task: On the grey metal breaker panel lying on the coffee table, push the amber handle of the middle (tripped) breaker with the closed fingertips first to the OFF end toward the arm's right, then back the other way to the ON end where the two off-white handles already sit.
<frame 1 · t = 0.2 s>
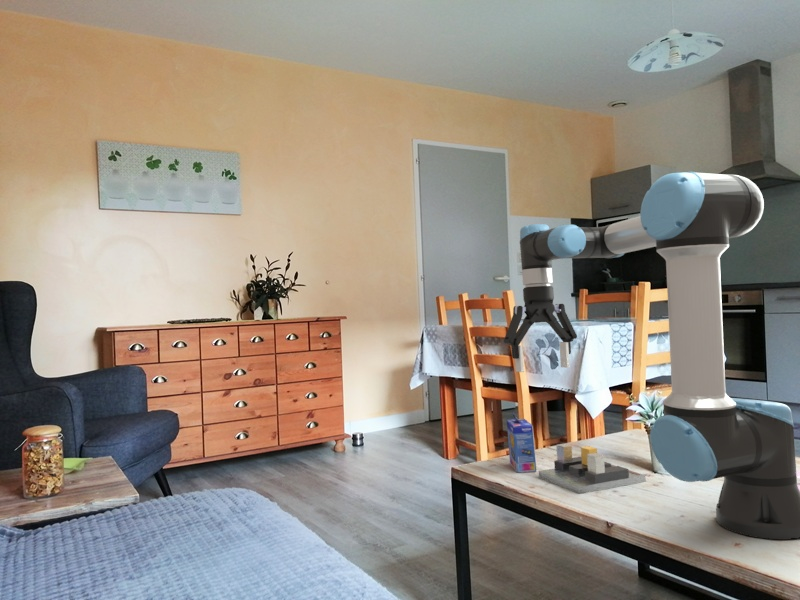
hand: (542, 369, 151), 27 cm above the table, fingers open, 13 cm apart
breaker panel: (590, 479, 145), on the table
tripped breaker handle: (589, 456, 145), point 6 cm above the table, slide at 0.0 cm
ink cartridge box: (522, 468, 159), on the table
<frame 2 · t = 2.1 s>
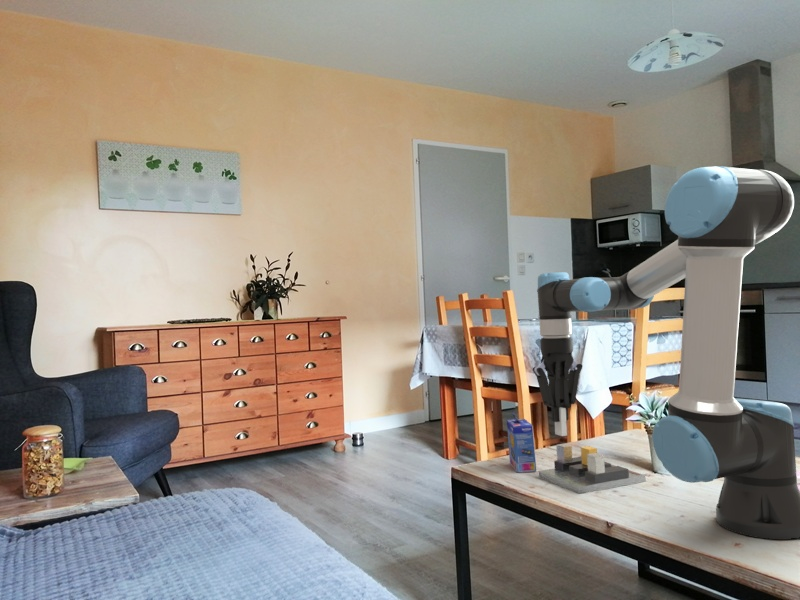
hand: (561, 434, 143), 12 cm above the table, fingers closed
nothing on the table moved.
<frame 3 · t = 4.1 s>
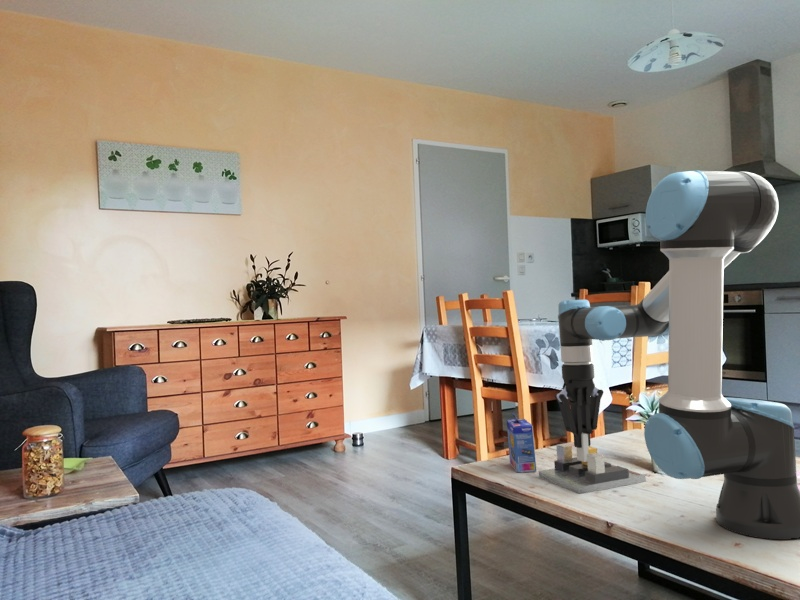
hand: (583, 460, 144), 5 cm above the table, fingers closed
tripped breaker handle: (589, 456, 145), point 6 cm above the table, slide at 0.0 cm, touching gripper
everything else where it was.
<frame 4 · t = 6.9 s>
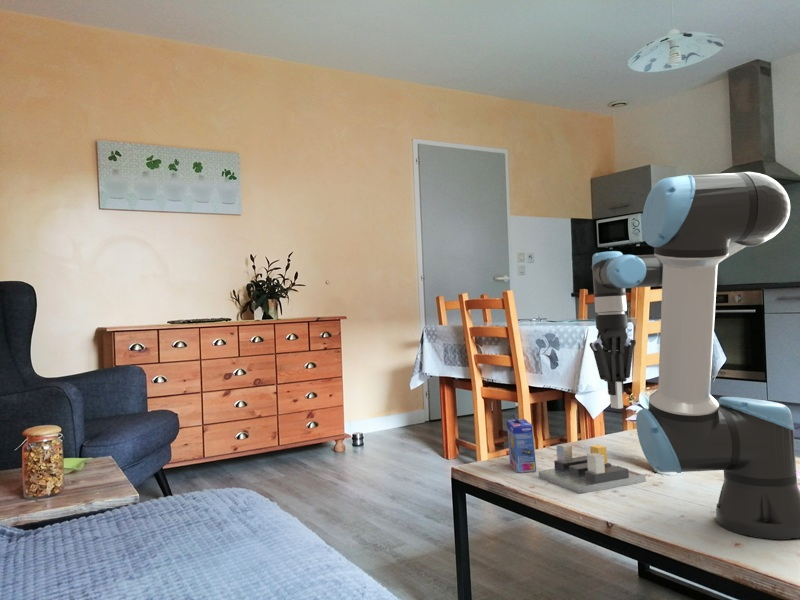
hand: (616, 407, 149), 16 cm above the table, fingers closed
tripped breaker handle: (598, 454, 146), point 6 cm above the table, slide at -2.8 cm
everything else where it was.
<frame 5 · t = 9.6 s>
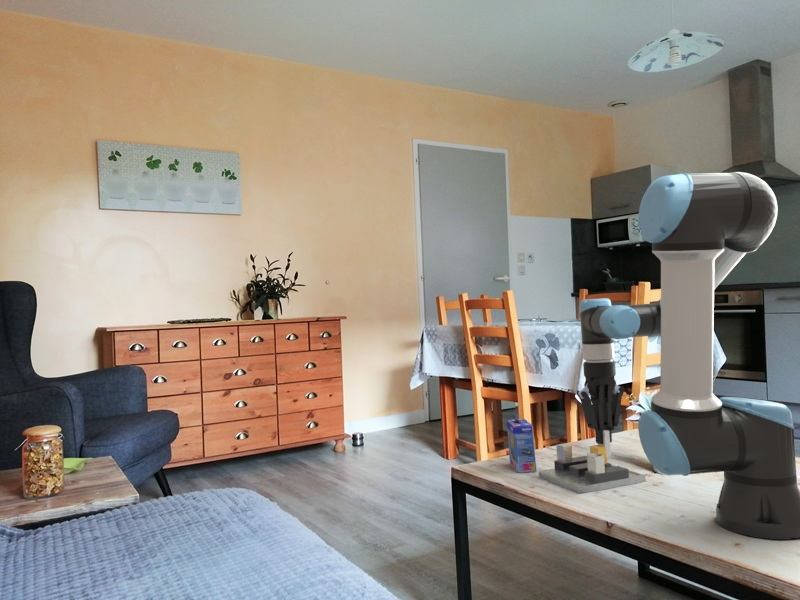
hand: (604, 456, 147), 5 cm above the table, fingers closed
tripped breaker handle: (598, 454, 146), point 6 cm above the table, slide at -2.7 cm, touching gripper
everything else where it was.
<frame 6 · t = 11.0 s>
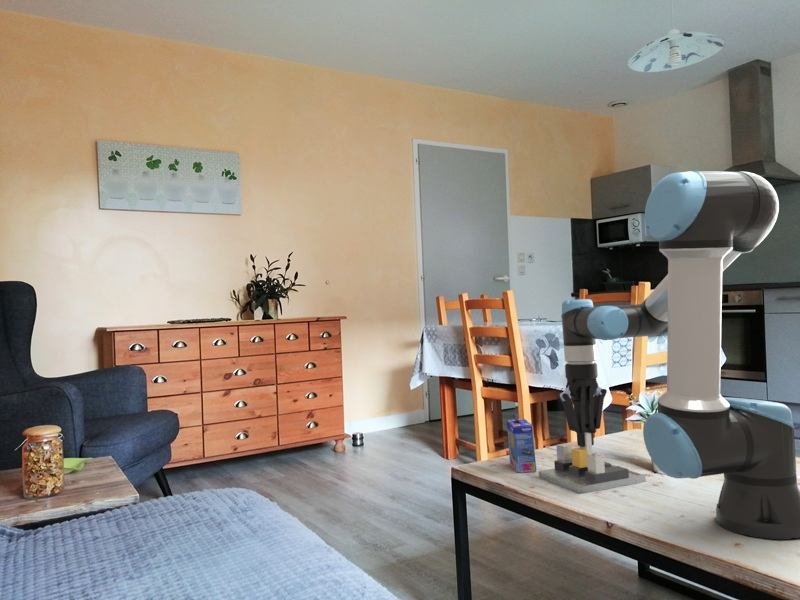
hand: (586, 459, 145), 5 cm above the table, fingers closed
tripped breaker handle: (579, 457, 144), point 6 cm above the table, slide at 2.8 cm, touching gripper
everything else where it was.
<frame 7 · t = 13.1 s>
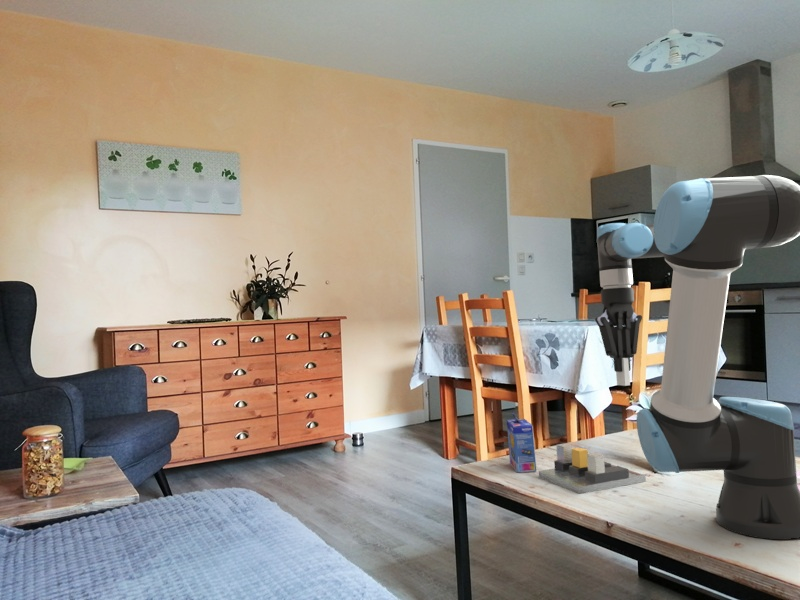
hand: (623, 385, 144), 23 cm above the table, fingers closed
tripped breaker handle: (579, 457, 144), point 6 cm above the table, slide at 2.8 cm
everything else where it was.
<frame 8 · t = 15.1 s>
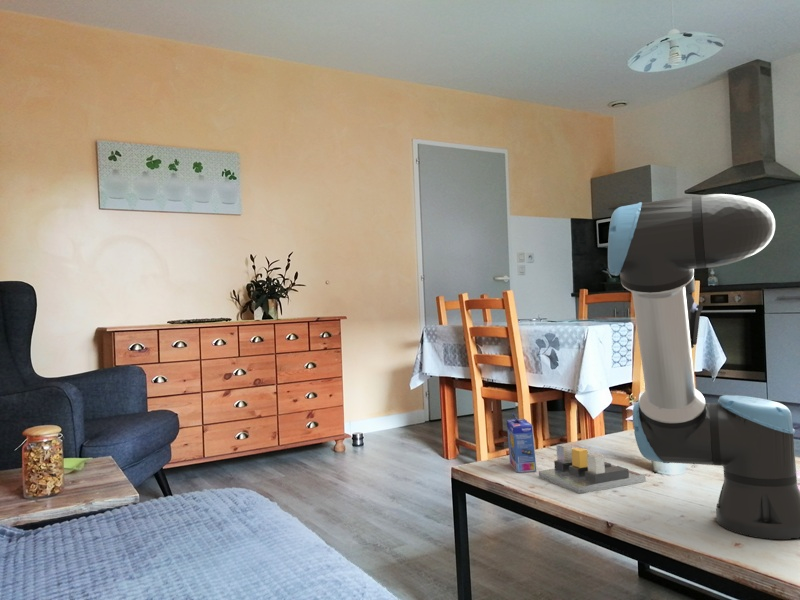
hand: (683, 376, 141), 24 cm above the table, fingers closed
nothing on the table moved.
at the end: tripped breaker handle slide at 2.8 cm; tripped breaker handle touching nothing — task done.
